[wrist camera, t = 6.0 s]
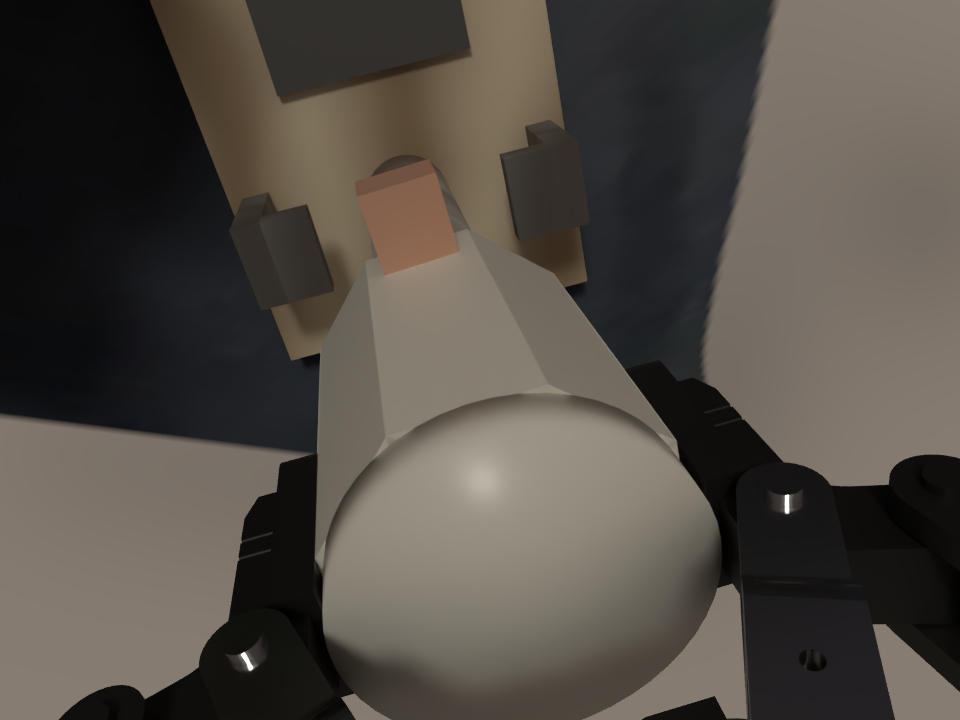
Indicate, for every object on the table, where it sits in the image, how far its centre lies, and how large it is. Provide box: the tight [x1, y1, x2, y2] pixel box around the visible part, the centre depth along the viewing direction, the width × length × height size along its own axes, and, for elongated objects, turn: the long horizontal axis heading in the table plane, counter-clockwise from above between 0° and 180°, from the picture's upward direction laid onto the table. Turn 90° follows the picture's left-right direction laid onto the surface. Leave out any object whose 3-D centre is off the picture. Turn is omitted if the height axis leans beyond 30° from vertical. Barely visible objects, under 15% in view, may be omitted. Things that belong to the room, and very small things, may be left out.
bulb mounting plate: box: [150, 0, 590, 360], centre depth 24 cm, size 13×17×10 cm
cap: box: [315, 159, 722, 720], centre depth 14 cm, size 9×6×8 cm, turn 14°
